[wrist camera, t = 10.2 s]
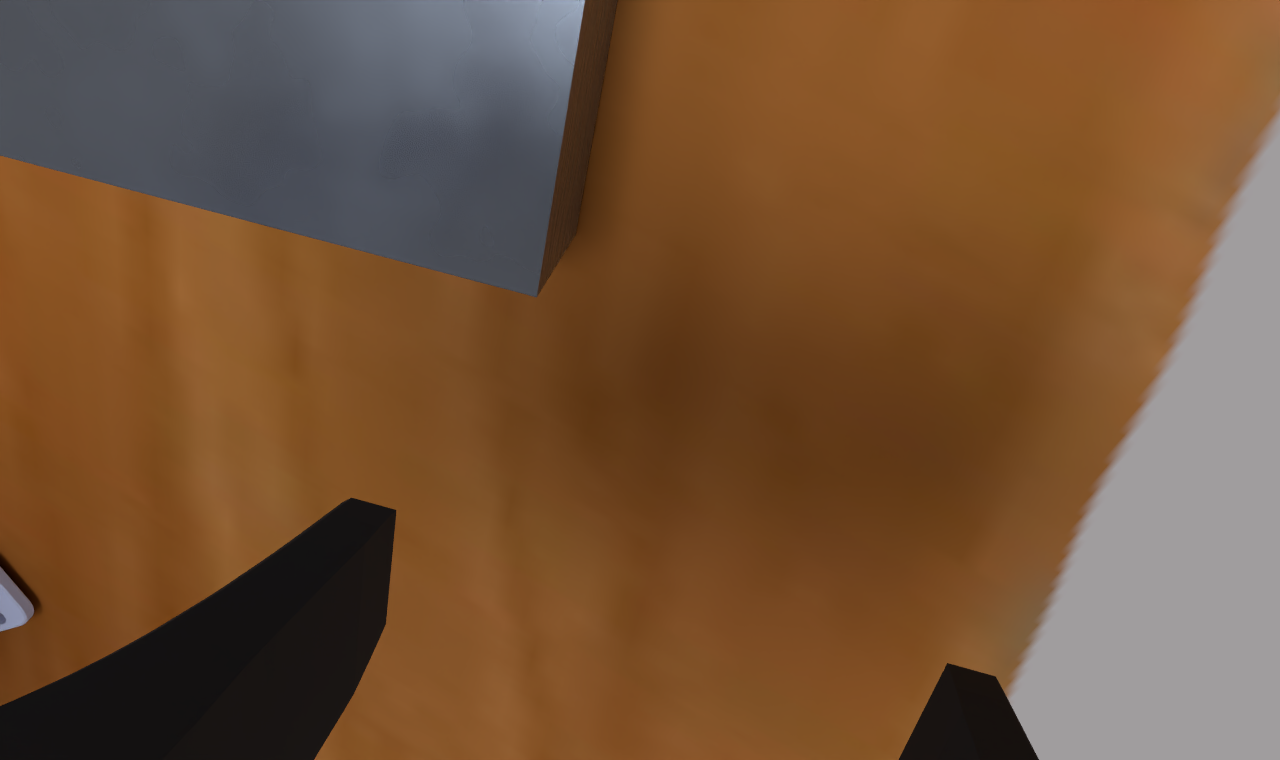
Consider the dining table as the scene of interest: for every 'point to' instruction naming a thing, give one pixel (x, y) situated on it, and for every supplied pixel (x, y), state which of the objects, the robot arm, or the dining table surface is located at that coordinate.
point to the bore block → (326, 116)
